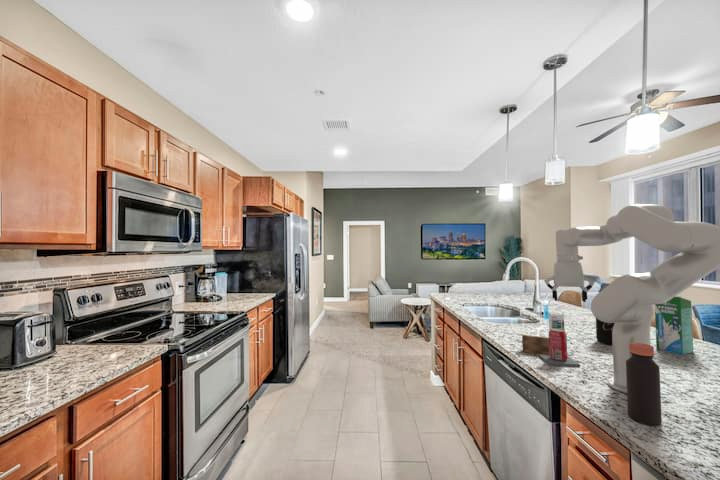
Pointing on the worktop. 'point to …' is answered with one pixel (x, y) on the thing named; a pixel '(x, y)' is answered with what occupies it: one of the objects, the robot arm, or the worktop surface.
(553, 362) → the mat
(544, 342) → the brown wooden block
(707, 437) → the worktop surface
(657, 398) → the bottle
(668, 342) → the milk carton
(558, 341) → the beverage can
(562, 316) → the syrup box
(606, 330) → the coffee jar
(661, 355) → the worktop surface
